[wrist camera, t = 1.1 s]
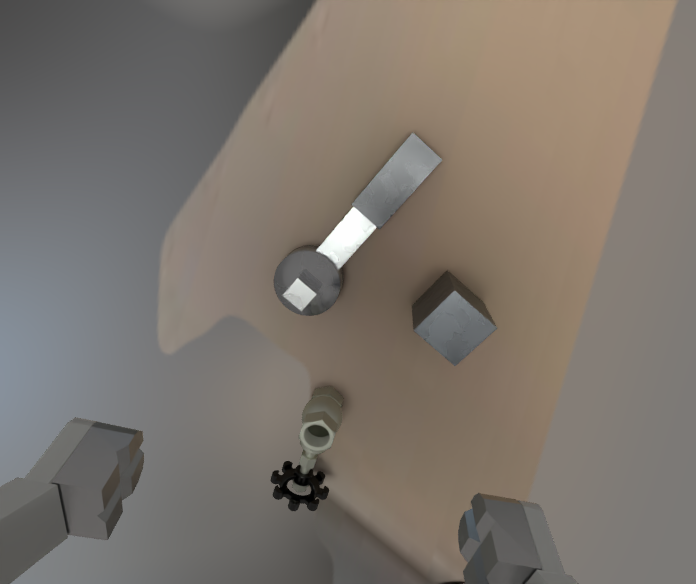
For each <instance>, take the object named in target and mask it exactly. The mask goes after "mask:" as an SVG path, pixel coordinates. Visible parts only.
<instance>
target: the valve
mask: <svg viewBox="0 0 696 584" xmlns="http://www.w3.org/2000/svg"><path fill="white" fill-rule="evenodd" d="M343 399H344V398H343V397H342V396H341V395H340V394H339V393H338V392H337V391H336V390H335V389H334V388H333V387H332V386H330V387H323V388H317V389H315V391H314V394H313V397H312V400H310V401H309V402H308V403H307V404H306V406H305V408H304V410H303V414H302V423H303V425H302V428H301V431H300V435H299V439H300V444H301V446H302V448H303V453H302V456H301V459H300V462H299V464H300V465H298V466H297V467H296V468H295V469H293V468H292V462H290V461H286V462H284V464H283V467H282V472H283V473H284V474H283V475H279V474H278V473H279V471H278V470H277V471H274V472H273V474H272V476H271V482H272V483H273V484H279V485H280V488H279V487H278V485H277V486H276V487H275V489H274V492H273V497H274V498H275V499H278V500H279V499H282V498H283V497H286V498H287V499H289V500H290V501H289V504H288V508H289V509H290V510H291V511H296V510H298V508H299V505H300V503H305V504H307V508H308V509H309V510H311V511H315V510H316V509H317V507H318V504H319V499H316V500H315V498H316V497H318V498H320V499H322V500H324V499H326V498H327V496H328V493H329V489H328V487H326V486H324V489H321V488H320V486H319V485H321V484H322V483H323V481H324V478H325V474H324V473H323V472H320V471H319V472H317V475H315V476H314V475H313V470H312V468H314V465H315V462H316V459H317V456H318V454H321V453H323V452H324V451H325V450H326V449H330V448H331V445H332V442H333V439H334V437H335V433H336V432H337V431H338V429H339V428H340V426H341V423H342V410H341V407H342V403H343ZM290 480H293V485H292V488H293V489H294V490H295V491H296V492H305V491H306V488H307V487H308V486H309V485H310V487H311V493H310V494H309V495H305V496H301V495H297V494H294V493H292V492H291V491H290V490H289V489H288V488H287V483H288V482H289V481H290Z"/></svg>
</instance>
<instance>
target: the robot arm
mask: <svg viewBox="0 0 696 584" xmlns="http://www.w3.org/2000/svg"><path fill="white" fill-rule="evenodd" d="M142 442H143V432H142V431H139V430H135V429H130V428H125V427H120V426H115V425H110V424H106V423H101V422H97V421H91V420H86V419H81V418H76V417H75V418H74V419H73V420H71V421H70V422H68V423H67V424H66V426H65V427H64V428H63V430H62V431H61V432H60V433H59V435H58V436H57V437H56V438H55V440H54V441H53V442H52V444H51V445H50V446H49V448H48V449H47V450H46V451H45V453H44V454H43V455H42V457H41V458H40V459H39V460H38V462H37V463H36V464H35V465H34V467H33V468H32V469H31V470H30V472H29V473H28V474H27V476H26V477H25V478H24V479H23V478H15V479H14V480H12V481H10V482H8V483H6V484H5V485H3V486H1V487H0V584H10V583H11V582H12V581H14V580H15V579H16V578H18V577H19V576H20V575H21V574H23V573H24V572H25V571H26V570H28V569H29V568H30V567H31V566H32V565H34V564H35V563H36V562H37V561H39V560H40V559H41V558H43V557H44V556H45V555H46V554H48V553H49V552H50V551H51V550H53V549H54V548H55V547H56V546H58V545H59V544H60V543H62V542H63V541H64V540H65V539H67V537H68V535H73V536H80V537H87V538H94V539H101V540H108V539H109V537H110V535H111V533H112V531H113V529H114V527H115V526H116V524H117V522H118V520H119V518H120V516H121V514H122V512H123V509H122V500H124V499H125V498H127V497H128V496H130V495H131V494H132V493H133V491H134V489H135V487H136V485H137V483H138V481H139V478H140V475H141V472H142V469H143V463H144V453H143V452H142V450H140V446H141V444H142ZM471 504H472V509H470V510H468V511H466V512H464V514H463V516H462V518H461V520H460V525H459V530H458V541H459V548H460V553H461V554H462V555H463V557H464V558H465V560H466V561H467V562H468V563H467V565H466V567H465V569H464V571H463V574H464V580H465V584H578V583H577V582H576V580H575V579H574V578H573V577H572V576H570V575H566V574H565V572H564V569H563V566H562V564H561V561H560V558H559V555H558V552H557V549H556V547H555V544H554V541H553V538H552V535H551V533H550V530H549V527H548V524H547V521H546V518H545V515H544V513H543V510H542V508H541V507H540V506H539V505H538V504H535V503H530V502H524V501H518V500H516V499H511V498H505V497H499V496H493V495H487V494H481V493H478V494H476V495H475V496H474V497H473V499H472V500H471Z"/></svg>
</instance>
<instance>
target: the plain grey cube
mask: <svg viewBox="0 0 696 584" xmlns="http://www.w3.org/2000/svg"><path fill="white" fill-rule="evenodd" d="M412 315H413V330H414V331H415V332H416V333H417V334H418V335H419V336H421V337H422V338H423V339H424V340H425V341H426V342H428V343H429V344H430V345H431V346H432V347H433V348H435V349H436V350H437V351H438V352H439V353H440V354H441V355H443V356H444V357H445V358H446V359H447V360H448V361H450V362H451V363H452V364H453V365H454V366H456V365H457V364H458V363H459V362H460V361H461V360H463V359H464V358H465V357H466V356H467V355H468V354H469V353H470V352H471V351H473V350H474V349H475V348H476V347H477V346H478V345H479V344H480V343H481V342H483V341H484V340H485V339H486V338H487V337H488V336H489V335H490V334H491V333H493V332H494V331H495V330H496V329H497V327H496V325H495V323H494V321H493V319H492V317H491V315H490V313H489V312H488V310H487V308H486V306H485V304H484V303H483V302H482V301H481V300H480V299H479V298H478V297H477V296H475V295H474V294H473V293H472V292H471V291H470V290H469V289H468V288H466V287H465V286H464V285H463V284H462V283H461V282H460V281H459V280H458V279H456V278H455V277H454V276H453V275H452V274H451V273H450V272H449V271H446V272H445V273H444V274H443V275H442V276H441V277H440V278H439V279H438V280H437V281H436V282H435V283H434V284H433V285H432V286H431V287H430V288H429V289H428V290H427V291H426V292H425V293H424V294H423V295H422V296H421V297H420V298H419V299H418V300H417V301H416V302H415V303H414V304H413V305H412Z"/></svg>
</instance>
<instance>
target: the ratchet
mask: <svg viewBox="0 0 696 584" xmlns="http://www.w3.org/2000/svg"><path fill="white" fill-rule="evenodd" d="M441 161H442V159H441V158H440V157H439V156H438V155H437V154H435V153H434V152H433V151H432V150H431V149H430V148H429V147H428V146H427V145H426V144H425V143H424V142H423V141H422V140H420V139H419V138H418V137H417V136H416V135H415V134H414V133H412V134H411V135H410V136H409V137H408V139H407V140H406V141H405V142H404V143H403V144H402V146H401V147H400V148H399V149H398V150H397V152H396V153H395V154H394V155H393V156H392V157H391V159H390V160H389V161H388V162H387V163H386V164H385V166H384V167H383V168H382V169H381V170H380V171H379V173H378V174H377V175H376V176H375V177H374V178H373V180H372V181H371V182H370V183H369V184H368V185H367V187H366V188H365V189H364V190H363V191H362V192H361V194H360V195H359V196H358V197H357V198H356V200H355V201H354V202H353V203H352V204H351V205H352V206H354V207H353V208H352V209H351V210H350V211H349V213H348V214H347V215H346V216H345V217H344V218H343V220H342V221H341V222H340V223H339V224H338V225H337V227H336V228H335V229H334V230H333V231H332V232H331V234H330V235H329V236H328V237H327V238H326V239H325V241H324V242H323V243H322V244H321V245H320V246H314V245H307V246H302V247H299V248H297V249H295V250H293V251H292V252H291V253H290V254H289V255H288V256H287V257H286V258H285V259H284V260H283V261H282V262H281V263H280V264H279V266H278V267H277V269H276V272H275V276H274V287H275V291H276V294H277V296H278V298H279V300H280V301H281V302H282V304H283V305H284V306H285V307H287V308H288V309H289V310H291V311H293V312H295V313H297V314H300V315H306V316H311V315H318V314H321V313H323V312H325V311H326V310H328V309H329V308H330V307H331V306H332V305H333V304H334V303H335V301H336V299H337V297H338V295H339V293H340V290H341V288H342V285H343V270H342V266H343V264H344V263H345V262H346V261H347V260H348V259H349V258H350V257H351V255H352V254H353V253H354V252H355V251H356V250H357V249H358V248H359V247H360V245H361V244H362V243H363V242H364V241H365V240H366V239H367V238H368V237H369V235H370V234H371V233H372V232H373V231H374V230H375V229H376V228H378V229H380V228H381V227H382V226H383V225H384V224H385V223H386V222H387V221H388V220H389V218H390V217H391V216H392V215H393V214H394V213H395V212H396V211H397V210H398V208H399V207H400V206H401V205H402V204H403V203H404V202H405V201H406V200H407V198H408V197H409V196H410V195H411V194H412V193H413V192H414V191H415V190H416V188H417V187H418V186H419V185H420V184H421V183H422V182H423V181H424V180H425V178H426V177H427V176H428V175H429V174H430V173H431V172H432V171H433V170H434V168H435V167H436V166H437V165H438V164H439V163H440V162H441Z"/></svg>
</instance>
